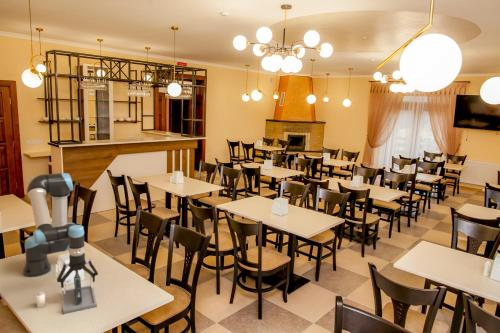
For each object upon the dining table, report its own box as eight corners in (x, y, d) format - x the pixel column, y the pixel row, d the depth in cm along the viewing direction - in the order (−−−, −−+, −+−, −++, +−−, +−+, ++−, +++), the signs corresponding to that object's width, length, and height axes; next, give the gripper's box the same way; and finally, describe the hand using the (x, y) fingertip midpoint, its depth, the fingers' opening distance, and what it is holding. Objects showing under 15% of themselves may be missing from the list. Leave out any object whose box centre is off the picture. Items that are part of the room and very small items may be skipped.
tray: (62, 293, 200) (61, 290, 199) (92, 287, 207) (92, 285, 207) (63, 314, 181) (63, 311, 181) (96, 306, 189) (96, 303, 188)
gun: (77, 267, 202) (80, 271, 189) (79, 296, 201) (82, 302, 188) (71, 268, 200) (74, 272, 188) (73, 297, 200) (76, 303, 187)
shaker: (37, 305, 188) (36, 290, 186) (45, 303, 190) (44, 288, 188) (36, 309, 184) (36, 294, 183) (45, 307, 186) (44, 292, 185)
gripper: (50, 260, 180) (52, 298, 184) (102, 252, 192) (103, 288, 196) (50, 254, 187) (52, 291, 190) (100, 247, 199) (101, 282, 202)
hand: (78, 289), depth 193 cm, fingers open, 13 cm apart
